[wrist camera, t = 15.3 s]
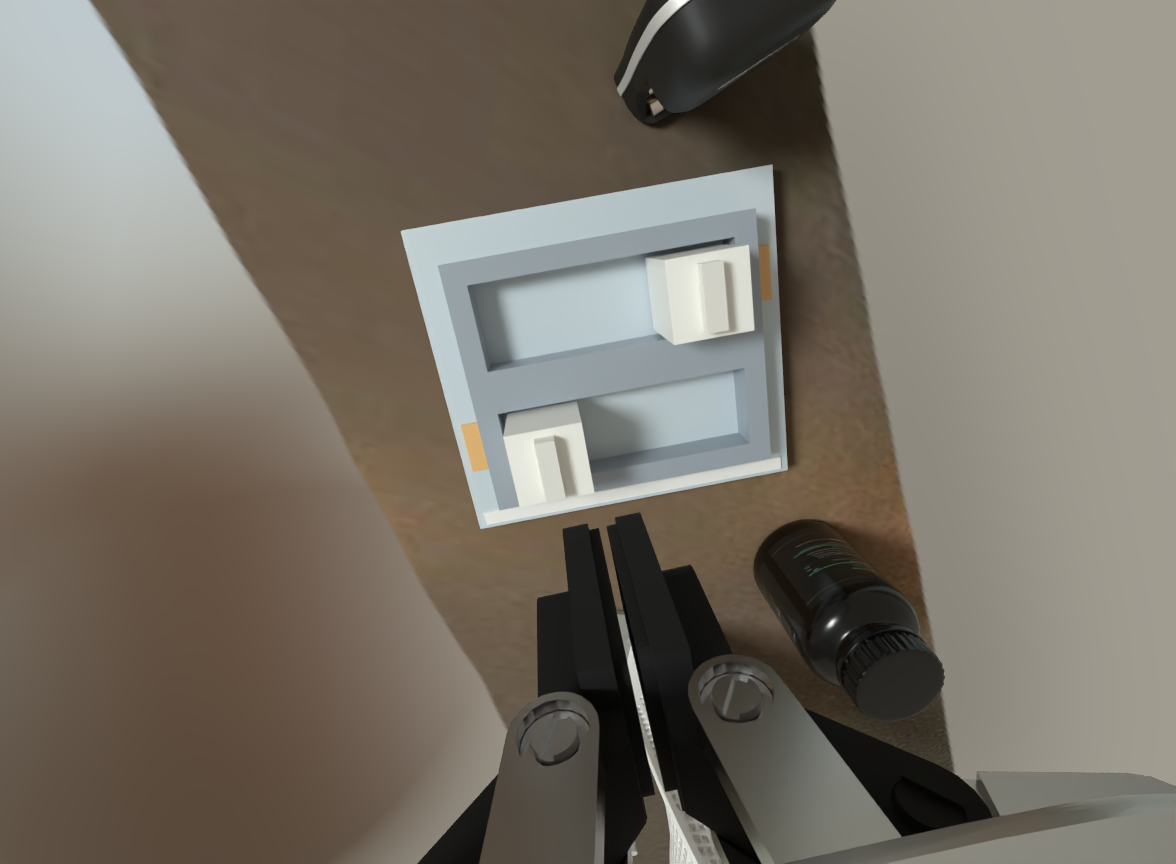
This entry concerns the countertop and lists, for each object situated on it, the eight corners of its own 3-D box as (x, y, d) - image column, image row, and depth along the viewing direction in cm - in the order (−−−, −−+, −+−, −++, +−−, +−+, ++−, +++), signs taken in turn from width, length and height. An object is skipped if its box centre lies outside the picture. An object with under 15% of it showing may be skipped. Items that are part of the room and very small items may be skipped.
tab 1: (508, 408, 32) (502, 442, 27) (575, 395, 32) (582, 427, 27) (522, 470, 34) (519, 514, 28) (586, 457, 34) (595, 499, 28)
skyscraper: (612, 592, 39) (764, 1326, 13) (720, 601, 40) (1071, 1296, 14) (593, 686, 42) (687, 1457, 15) (696, 693, 43) (949, 1423, 16)
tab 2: (644, 257, 30) (667, 260, 25) (716, 244, 30) (755, 244, 25) (653, 329, 31) (678, 348, 26) (722, 317, 31) (760, 332, 26)
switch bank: (406, 231, 30) (390, 230, 27) (761, 167, 31) (788, 159, 27) (482, 517, 36) (477, 545, 33) (778, 461, 37) (801, 482, 33)
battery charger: (641, 150, 30) (699, 97, 19) (606, 80, 29) (647, -18, 18) (755, 75, 29) (882, -22, 18) (724, 0, 28) (840, -151, 17)
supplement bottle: (829, 602, 41) (940, 739, 30) (741, 597, 40) (821, 737, 29) (854, 520, 39) (984, 634, 27) (762, 513, 38) (856, 628, 27)
